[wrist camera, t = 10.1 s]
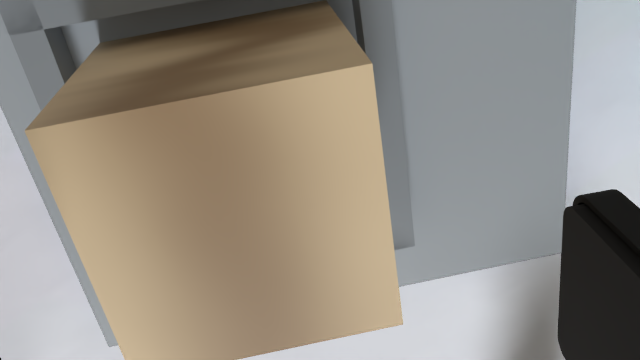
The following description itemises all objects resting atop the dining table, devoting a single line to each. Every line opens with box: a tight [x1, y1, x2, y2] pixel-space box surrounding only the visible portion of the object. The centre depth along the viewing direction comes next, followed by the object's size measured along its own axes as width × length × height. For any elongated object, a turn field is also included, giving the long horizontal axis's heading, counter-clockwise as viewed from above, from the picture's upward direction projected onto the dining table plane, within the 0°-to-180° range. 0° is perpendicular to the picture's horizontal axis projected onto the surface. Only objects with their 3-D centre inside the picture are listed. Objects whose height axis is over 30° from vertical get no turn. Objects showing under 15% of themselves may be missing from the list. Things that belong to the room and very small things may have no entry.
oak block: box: [25, 0, 403, 360], centre depth 14 cm, size 6×6×6 cm
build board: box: [0, 0, 576, 347], centre depth 17 cm, size 16×12×2 cm
